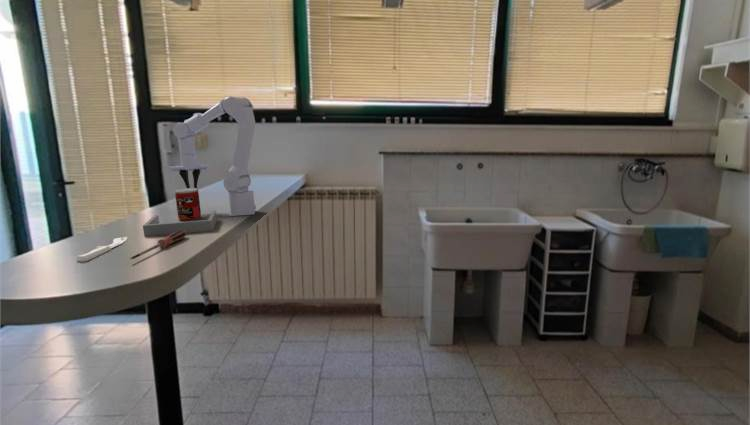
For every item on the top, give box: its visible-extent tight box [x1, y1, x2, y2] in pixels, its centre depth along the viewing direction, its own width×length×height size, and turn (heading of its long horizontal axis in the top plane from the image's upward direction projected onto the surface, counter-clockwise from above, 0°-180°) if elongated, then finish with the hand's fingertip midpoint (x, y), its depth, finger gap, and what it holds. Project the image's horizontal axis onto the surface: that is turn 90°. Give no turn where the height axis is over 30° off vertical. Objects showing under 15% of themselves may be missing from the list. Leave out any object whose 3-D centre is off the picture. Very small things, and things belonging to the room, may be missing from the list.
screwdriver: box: [129, 230, 187, 260], centre depth 116 cm, size 25×3×3 cm, turn 174°
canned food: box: [174, 187, 202, 222], centre depth 151 cm, size 8×8×11 cm
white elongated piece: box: [75, 236, 128, 263], centre depth 121 cm, size 30×2×8 cm
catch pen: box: [142, 210, 218, 237], centre depth 139 cm, size 20×15×4 cm
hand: (192, 188), depth 162 cm, fingers open, 2 cm apart
